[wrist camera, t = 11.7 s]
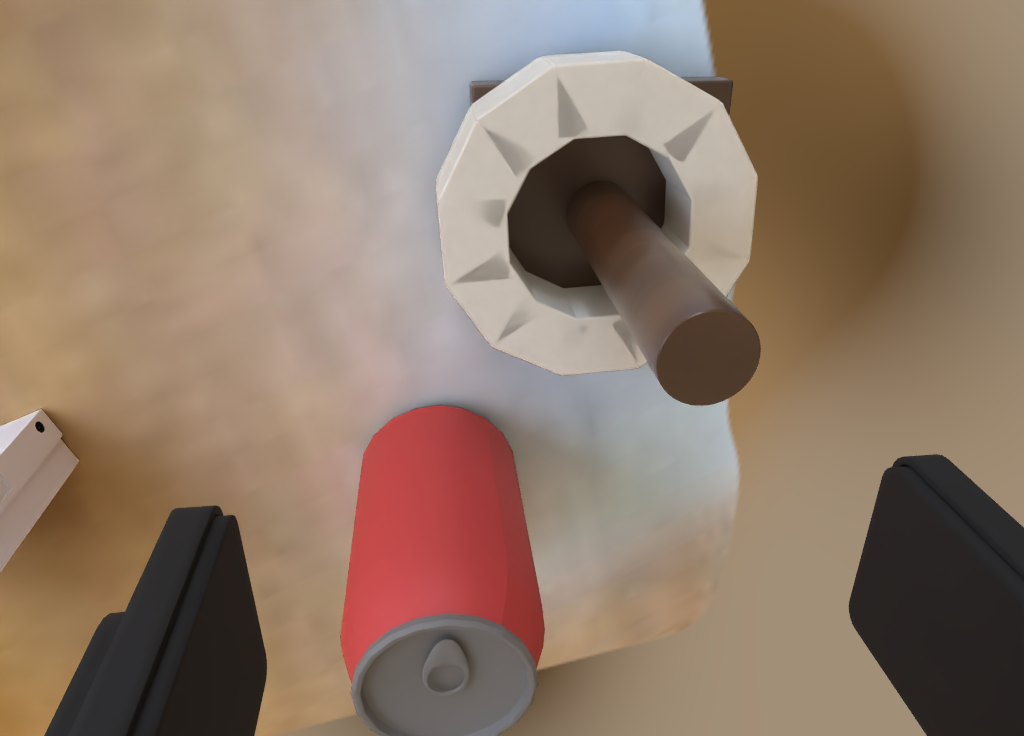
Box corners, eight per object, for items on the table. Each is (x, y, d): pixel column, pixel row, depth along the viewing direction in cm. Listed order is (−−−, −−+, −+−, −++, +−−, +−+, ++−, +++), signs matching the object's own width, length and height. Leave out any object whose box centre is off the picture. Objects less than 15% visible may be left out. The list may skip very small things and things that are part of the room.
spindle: (469, 80, 26) (507, 161, 15) (722, 76, 27) (950, 148, 15) (476, 320, 30) (510, 533, 19) (696, 310, 31) (860, 508, 19)
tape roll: (424, 63, 25) (424, 73, 22) (735, 42, 25) (771, 50, 23) (451, 350, 29) (455, 386, 27) (713, 326, 30) (741, 359, 28)
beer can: (517, 397, 32) (564, 604, 22) (509, 522, 35) (547, 758, 24) (359, 398, 31) (326, 612, 21) (364, 526, 34) (338, 771, 24)
